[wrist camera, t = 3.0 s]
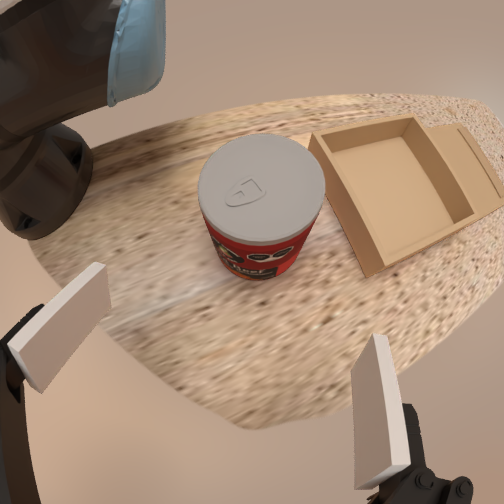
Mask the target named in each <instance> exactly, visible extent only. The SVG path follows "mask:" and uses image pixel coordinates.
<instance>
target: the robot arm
mask: <svg viewBox="0 0 504 504" xmlns="http://www.w3.org/2000/svg"><path fill="white" fill-rule="evenodd" d="M165 13H166V11H165V0H0V220H1V222H2V223H3V224H4V226H5V227H6V228H7V229H8V230H9V231H11V232H12V233H14V234H16V235H17V236H19V237H21V238H23V239H28V240H32V239H38V238H41V237H44V236H46V235H48V234H49V233H51V232H53V231H54V230H55V229H57V228H58V227H59V226H60V225H61V224H62V223H63V222H65V220H66V219H67V218H68V217H69V216H70V215H71V214H72V212H73V211H74V210H75V208H76V207H77V205H78V204H79V202H80V201H81V199H82V197H83V195H84V193H85V191H86V189H87V186H88V184H89V181H90V177H91V173H92V166H93V159H92V153H91V150H90V148H89V147H88V145H87V144H86V142H85V141H84V139H83V138H82V137H81V136H80V135H79V134H78V133H77V132H76V131H74V130H72V129H71V128H69V127H67V126H65V125H64V124H62V123H61V122H63V121H65V120H68V119H71V118H73V117H76V116H78V115H81V114H84V113H86V112H89V111H92V110H95V109H98V108H101V107H104V106H107V105H108V106H109V107H113V106H115V105H116V104H117V102H120V101H123V100H126V99H129V98H132V97H135V96H138V95H141V94H144V93H147V92H149V91H151V90H152V89H154V88H155V87H156V86H157V85H158V83H159V81H160V80H161V78H162V76H163V72H164V66H165V45H166V44H165V43H166V42H165V41H166V14H165ZM110 309H111V301H110V294H109V286H108V277H107V268H106V265H105V264H101V263H98V262H95V261H94V262H93V263H92V264H91V265H90V266H88V267H87V268H86V269H85V270H84V271H83V272H81V273H80V274H79V275H78V276H77V277H76V278H75V279H73V280H72V281H71V282H70V283H69V284H68V285H67V286H66V287H65V288H63V289H62V290H61V291H60V292H59V293H58V294H57V295H56V296H55V297H54V298H53V299H52V300H50V301H49V302H48V303H47V304H46V305H44V304H40V305H38V306H36V307H34V308H32V309H31V310H30V311H29V313H27V314H26V316H25V317H23V318H22V319H21V320H20V322H18V323H17V324H16V325H15V326H14V327H13V328H12V329H11V330H10V331H9V332H8V333H7V334H6V335H5V336H4V337H3V338H2V339H1V340H0V504H41V501H40V498H39V494H38V490H37V485H36V481H35V476H34V472H33V467H32V461H31V455H30V449H29V442H28V434H27V425H26V413H25V397H24V384H23V381H24V379H25V378H26V380H27V382H28V383H29V385H30V386H31V387H32V388H34V389H35V390H37V391H38V392H39V393H41V394H42V393H43V392H44V390H45V389H46V388H47V386H48V385H49V384H50V382H51V381H52V379H53V378H54V377H55V376H56V375H57V373H58V372H59V371H60V369H61V368H62V367H63V366H64V364H65V363H66V362H67V360H68V359H69V358H70V357H71V355H72V354H73V353H74V352H75V350H76V349H77V348H78V347H79V345H80V344H81V343H82V342H83V341H84V339H85V338H86V337H87V336H88V335H89V333H90V332H91V331H92V330H93V329H94V327H95V326H96V325H97V324H98V323H99V321H100V320H101V319H102V318H103V317H104V316H105V314H106V313H107V312H108V311H109V310H110ZM351 384H352V398H353V417H354V447H355V448H354V449H355V450H354V451H355V482H354V483H355V484H354V489H355V490H369V489H373V488H375V487H376V486H378V485H379V492H377V493H375V494H373V495H372V496H370V497H369V498H367V500H370V499H371V500H370V501H369V503H368V504H471V500H472V495H473V484H472V482H471V481H470V479H468V478H467V477H464V476H461V477H458V478H456V479H455V480H453V481H449V480H445V479H440V478H437V477H435V474H434V473H433V471H431V469H429V468H427V467H426V464H425V457H424V450H423V444H422V438H421V435H420V427H419V421H418V416H417V413H416V411H415V409H414V408H413V406H412V404H404V403H402V401H401V396H400V391H399V386H398V382H397V376H396V372H395V367H394V363H393V359H392V354H391V350H390V346H389V342H388V338H387V336H385V335H380V334H375V333H373V334H372V336H371V337H370V339H369V341H368V343H367V344H366V346H365V348H364V350H363V351H362V353H361V355H360V356H359V358H358V360H357V361H356V363H355V365H354V366H353V368H352V369H351Z"/></svg>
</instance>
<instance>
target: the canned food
mask: <svg viewBox="0 0 504 504" xmlns="http://www.w3.org/2000/svg"><path fill="white" fill-rule="evenodd" d="M324 195H325V178H324V174H323V170H322V168H321V166H320V164H319V162H318V161H317V159H316V158H315V157H314V156H313V154H312V153H311V152H310V151H308V150H307V149H306V148H305V147H304V146H302V145H301V144H299V143H297V142H296V141H294V140H291V139H289V138H286V137H283V136H279V135H274V134H252V135H247V136H243V137H239V138H237V139H234V140H232V141H230V142H228V143H226V144H225V145H223V146H222V147H220V148H219V149H218V150H217V151H215V152H214V153H213V154H212V155H211V156H210V158H209V159H208V160H207V162H206V163H205V165H204V167H203V169H202V171H201V173H200V177H199V181H198V200H199V204H200V208H201V211H202V214H203V218H204V220H205V223H206V225H207V228H208V230H209V233H210V236H211V238H212V241H213V243H214V246H215V248H216V251H217V253H218V256H219V257H220V259H221V261H222V263H223V264H224V265H225V266H226V268H227V269H229V270H230V271H231V272H232V273H234V274H236V275H238V276H240V277H242V278H246V279H250V280H263V279H269V278H272V277H275V276H277V275H279V274H281V273H283V272H284V271H285V270H286V269H288V268H289V267H290V266H291V265H292V263H293V262H294V261H295V259H296V258H297V256H298V254H299V252H300V250H301V248H302V246H303V244H304V242H305V240H306V238H307V236H308V234H309V232H310V231H311V229H312V227H313V225H314V223H315V221H316V219H317V217H318V215H319V212H320V210H321V208H322V204H323V200H324Z"/></svg>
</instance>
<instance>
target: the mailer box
mask: <svg viewBox="0 0 504 504" xmlns="http://www.w3.org/2000/svg"><path fill="white" fill-rule="evenodd" d="M308 151H310V152H311V153H312V154H313V156H314V157H315V158H316V159H317V161H318V162H319V164H320V166H321V168H322V170H323V174H324V178H325V195H326V197H327V198H328V200H329V202H330V204H331V206H332V208H333V210H334V212H335V214H336V216H337V218H338V220H339V222H340V224H341V226H342V228H343V230H344V232H345V234H346V236H347V238H348V240H349V242H350V244H351V246H352V248H353V250H354V253H355V255H356V257H357V259H358V261H359V263H360V266H361V268H362V270H363V272H364V274H365V277H366V278H368V277H370V276H372V275H374V274H376V273H378V272H380V271H382V270H384V269H387V268H389V267H391V266H393V265H395V264H397V263H399V262H401V261H403V260H405V259H407V258H409V257H411V256H413V255H415V254H417V253H419V252H421V251H423V250H425V249H426V248H428V247H430V246H432V245H434V244H436V243H438V242H440V241H442V240H444V239H445V238H447V237H449V236H451V235H453V234H455V233H456V232H458V231H460V230H462V229H464V228H465V227H467V226H469V225H471V224H472V223H474V222H476V221H478V220H479V219H481V218H483V217H484V216H486V215H488V214H490V213H491V212H493V211H495V210H496V209H498V208H500V207H501V206H503V205H504V186H503V184H502V183H501V181H500V179H499V177H498V175H497V174H496V172H495V170H494V169H493V167H492V165H491V164H490V162H489V160H488V159H487V157H486V156H485V154H484V153H483V151H482V150H481V148H480V146H479V145H478V144H477V142H476V141H475V139H474V138H473V136H472V135H471V133H470V132H469V131H468V129H467V128H466V127H463V125H462V124H461V123H455V124H449V125H443V126H437V127H431V128H425V127H424V126H423V124H422V123H421V122H420V120H419V119H418V118H417V117H416V115H415V114H414V113H410V114H403V115H396V116H390V117H384V118H378V119H373V120H367V121H362V122H357V123H352V124H347V125H342V126H337V127H333V128H328V129H324V130H320V131H315V132H312V135H311V139H310V143H309V147H308Z"/></svg>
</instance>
